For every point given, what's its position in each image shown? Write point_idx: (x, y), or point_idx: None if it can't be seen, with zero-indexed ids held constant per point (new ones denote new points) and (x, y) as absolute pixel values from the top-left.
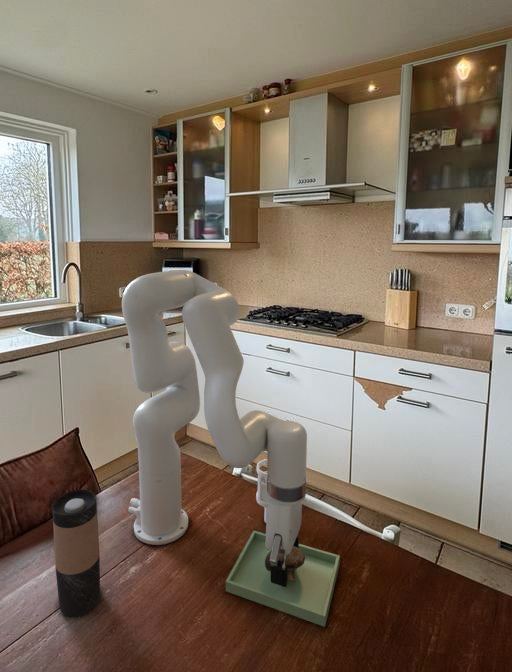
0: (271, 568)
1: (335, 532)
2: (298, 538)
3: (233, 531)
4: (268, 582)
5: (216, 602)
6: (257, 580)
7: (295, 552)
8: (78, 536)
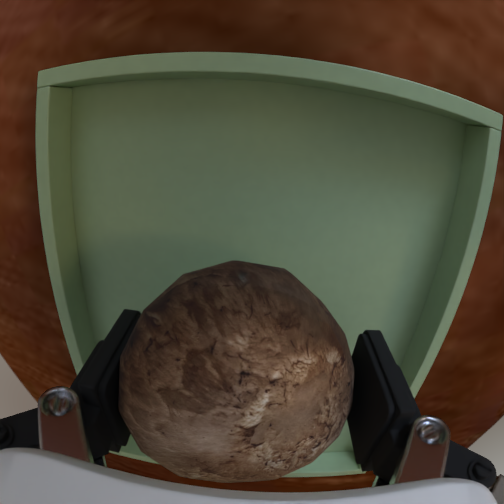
0: (94, 363)
1: (485, 407)
2: (370, 469)
3: (478, 6)
4: (171, 268)
5: (20, 74)
6: (161, 209)
7: (243, 480)
8: None
